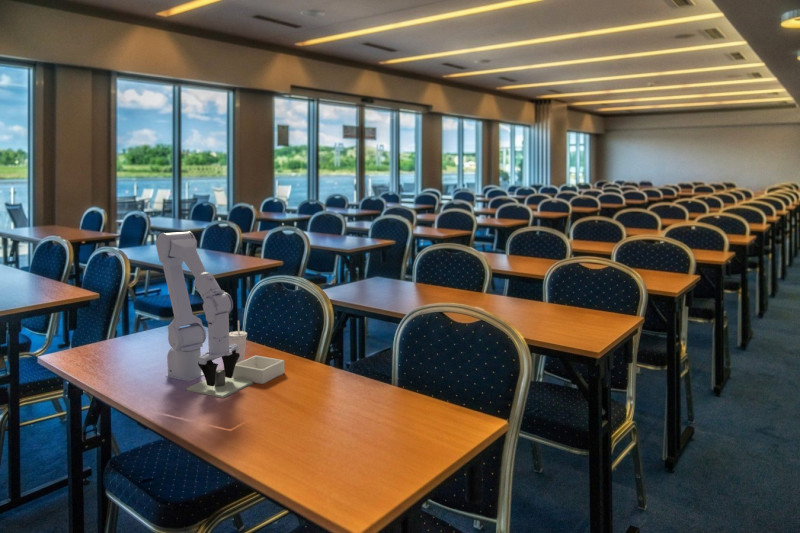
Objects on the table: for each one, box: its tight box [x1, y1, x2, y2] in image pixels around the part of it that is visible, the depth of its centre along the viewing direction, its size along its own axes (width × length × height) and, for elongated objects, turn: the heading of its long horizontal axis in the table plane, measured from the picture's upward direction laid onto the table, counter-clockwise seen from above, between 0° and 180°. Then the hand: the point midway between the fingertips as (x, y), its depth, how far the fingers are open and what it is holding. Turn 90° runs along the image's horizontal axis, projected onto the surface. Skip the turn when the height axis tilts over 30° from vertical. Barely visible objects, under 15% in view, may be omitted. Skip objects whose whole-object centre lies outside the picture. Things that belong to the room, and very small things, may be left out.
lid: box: [185, 369, 253, 399], centre depth 173 cm, size 13×13×5 cm
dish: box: [232, 355, 286, 385], centre depth 183 cm, size 11×11×4 cm
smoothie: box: [229, 320, 248, 363], centre depth 196 cm, size 6×6×14 cm
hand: (220, 381), depth 173 cm, fingers open, 7 cm apart
